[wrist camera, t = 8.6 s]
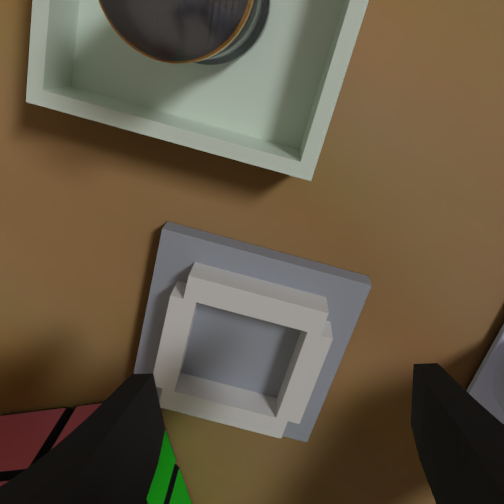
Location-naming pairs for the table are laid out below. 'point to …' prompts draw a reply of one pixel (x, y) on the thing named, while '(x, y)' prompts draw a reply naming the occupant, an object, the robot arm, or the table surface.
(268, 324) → the mount plate
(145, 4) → the dark cylindrical piece
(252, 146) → the bin
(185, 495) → the puzzle cube
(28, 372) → the table surface
